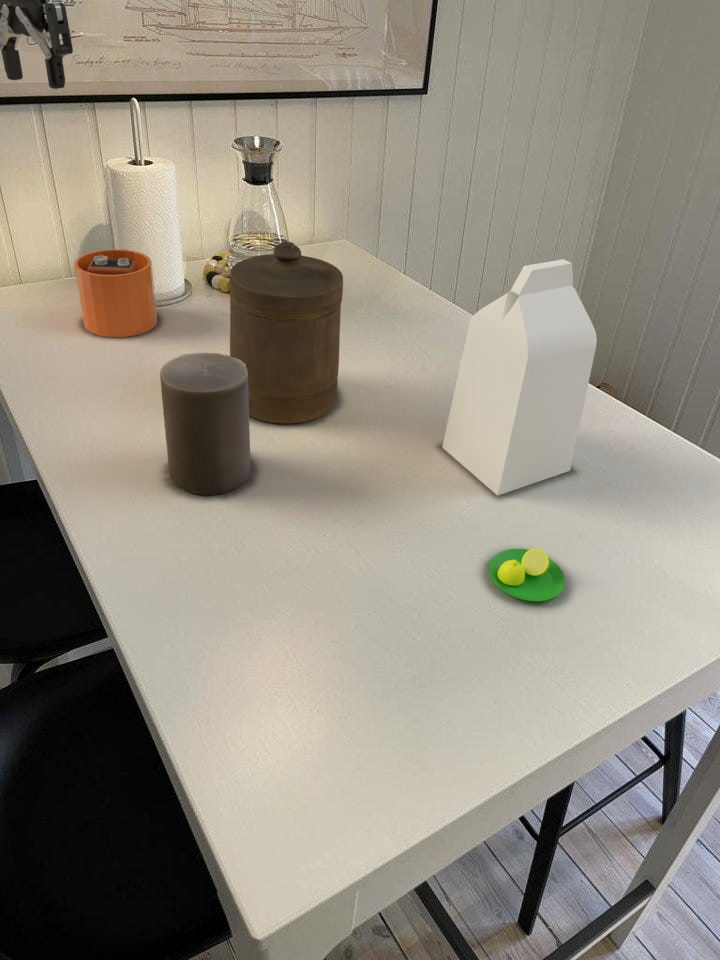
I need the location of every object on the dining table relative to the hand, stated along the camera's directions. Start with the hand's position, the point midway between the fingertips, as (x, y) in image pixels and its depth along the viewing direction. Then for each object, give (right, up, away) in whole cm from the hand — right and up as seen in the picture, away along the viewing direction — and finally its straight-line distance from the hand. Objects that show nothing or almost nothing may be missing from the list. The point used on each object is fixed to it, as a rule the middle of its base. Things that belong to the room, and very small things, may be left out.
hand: (36, 83), depth 108 cm
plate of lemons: (+64, -68, -28) cm, 97 cm away
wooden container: (+36, -45, -1) cm, 58 cm away
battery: (+7, -31, +14) cm, 35 cm away
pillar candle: (+28, -56, -17) cm, 65 cm away
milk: (+65, -54, -10) cm, 86 cm away
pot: (+8, -31, +14) cm, 35 cm away
